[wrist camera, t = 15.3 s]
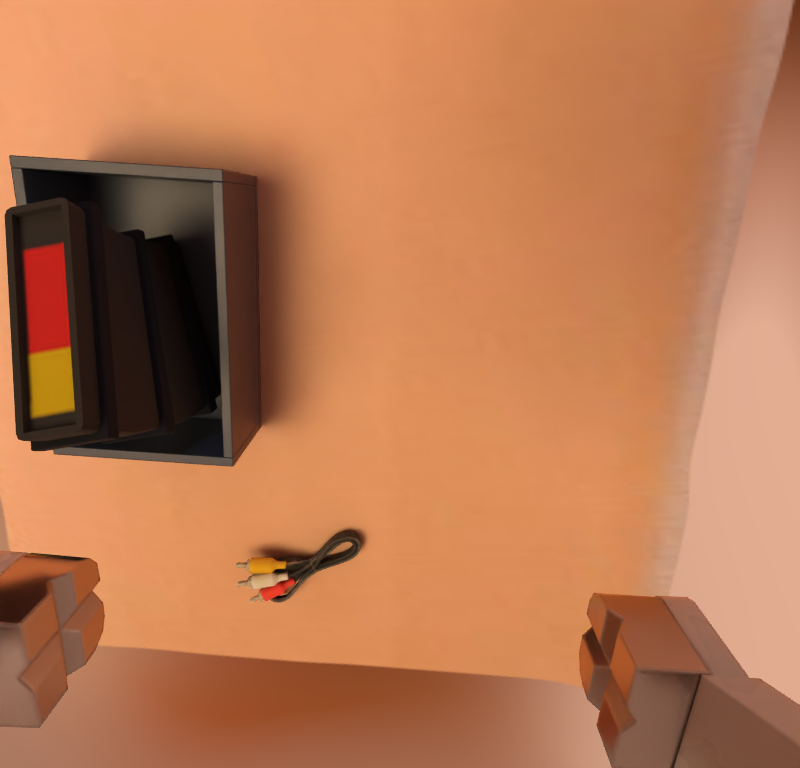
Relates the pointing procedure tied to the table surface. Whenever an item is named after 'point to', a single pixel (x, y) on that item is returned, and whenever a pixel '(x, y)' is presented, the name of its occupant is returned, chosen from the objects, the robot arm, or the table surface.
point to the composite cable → (294, 568)
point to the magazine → (100, 330)
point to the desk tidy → (208, 273)
